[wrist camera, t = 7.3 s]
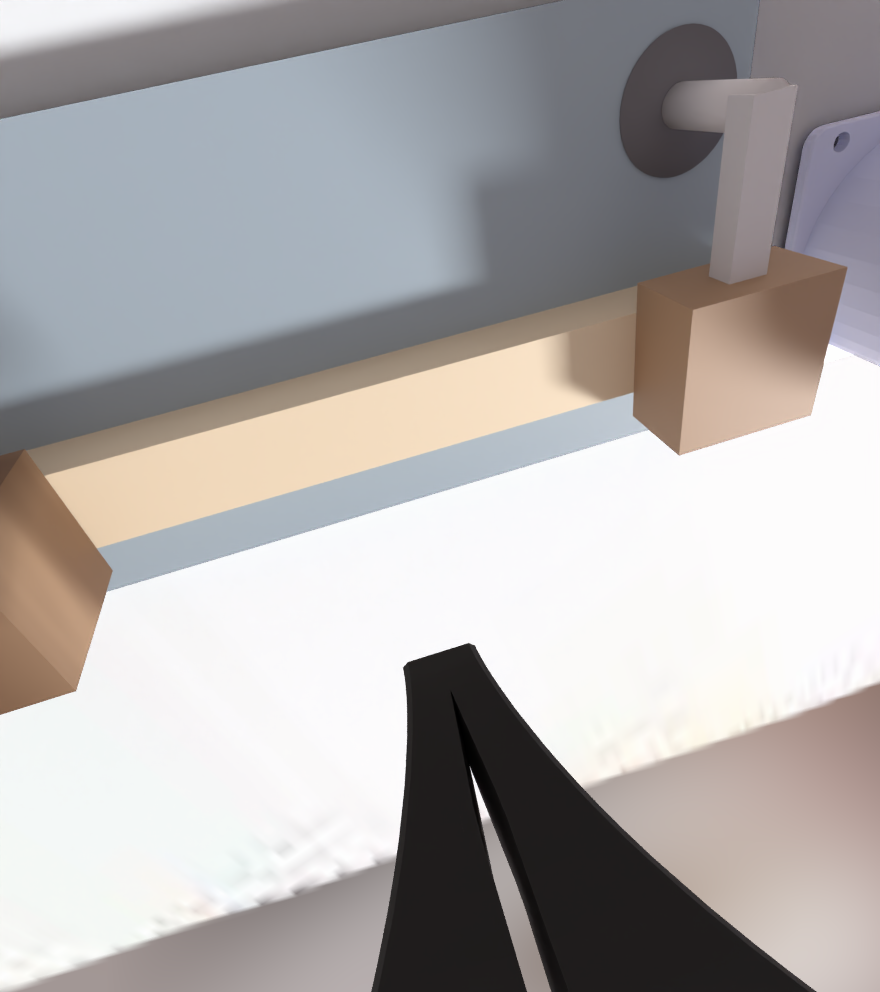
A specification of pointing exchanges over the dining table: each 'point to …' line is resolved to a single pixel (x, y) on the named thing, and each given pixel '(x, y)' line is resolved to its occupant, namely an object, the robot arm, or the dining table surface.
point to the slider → (43, 588)
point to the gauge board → (399, 272)
